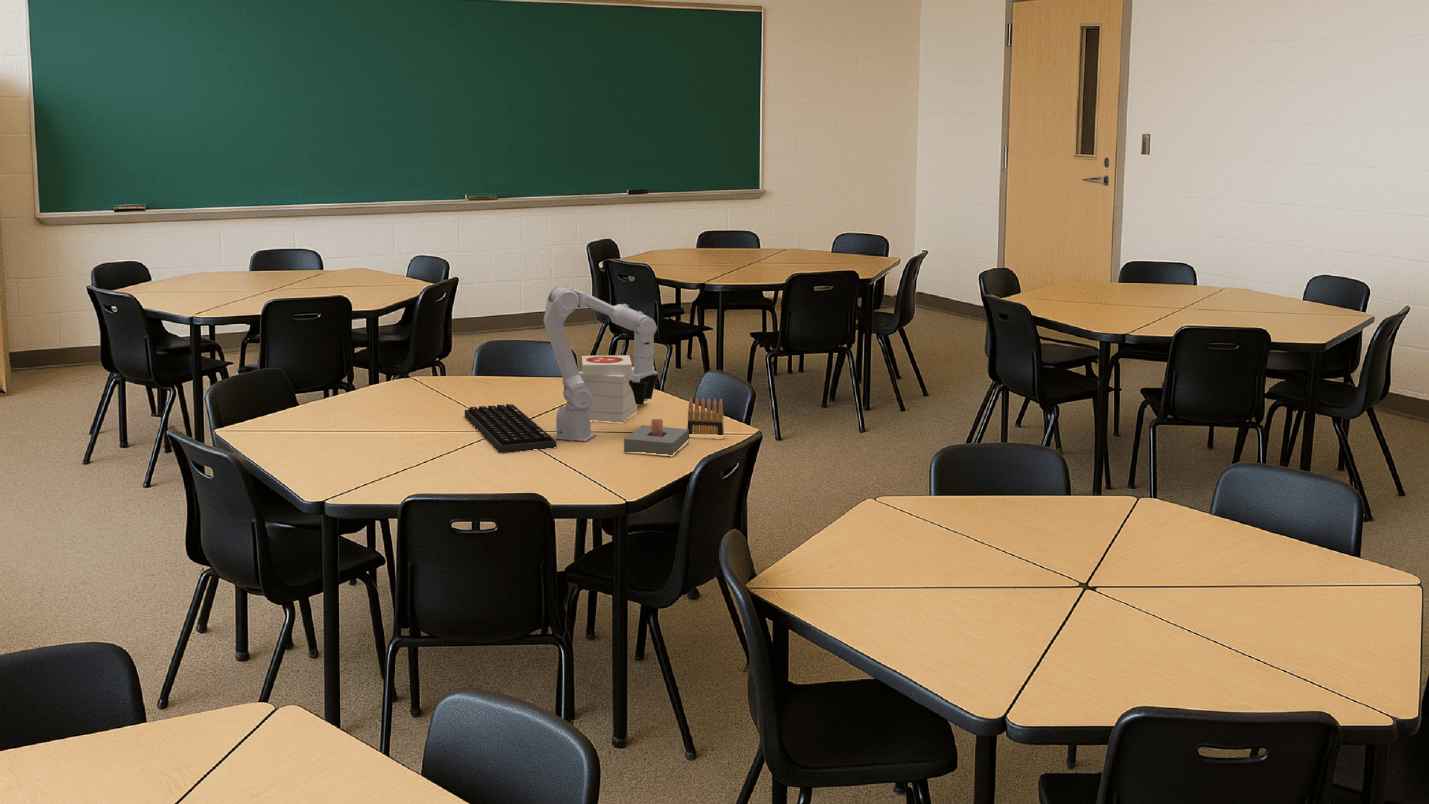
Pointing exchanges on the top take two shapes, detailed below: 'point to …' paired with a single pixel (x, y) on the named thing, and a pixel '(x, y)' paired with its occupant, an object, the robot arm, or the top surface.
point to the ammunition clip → (705, 417)
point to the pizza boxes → (609, 387)
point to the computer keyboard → (509, 428)
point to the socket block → (656, 440)
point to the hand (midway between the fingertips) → (643, 401)
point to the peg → (657, 427)
